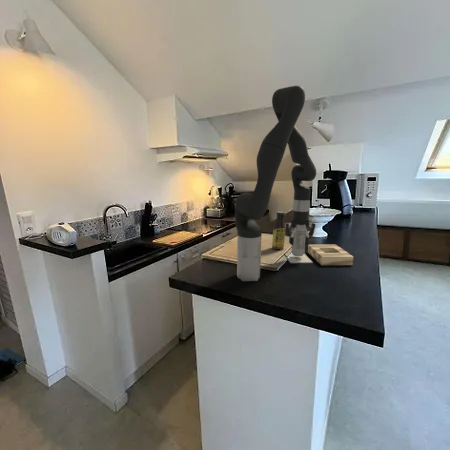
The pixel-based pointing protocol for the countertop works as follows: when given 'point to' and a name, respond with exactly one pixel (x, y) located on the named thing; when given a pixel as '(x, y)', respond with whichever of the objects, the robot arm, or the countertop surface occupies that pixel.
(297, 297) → the countertop surface
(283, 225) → the sauce bottle
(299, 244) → the energy drink can
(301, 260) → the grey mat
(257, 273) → the robot arm
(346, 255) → the socket block
